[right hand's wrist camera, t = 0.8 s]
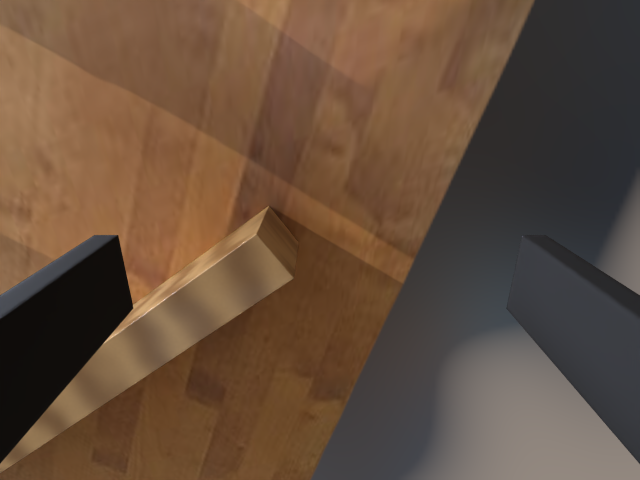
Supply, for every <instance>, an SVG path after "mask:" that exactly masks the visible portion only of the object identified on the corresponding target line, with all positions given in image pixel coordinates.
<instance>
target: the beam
mask: <svg viewBox="0 0 640 480" xmlns="http://www.w3.org/2000/svg"><path fill="white" fill-rule="evenodd" d="M298 246H299V242H298V241H297V240H296V239H295V237H294V236H293V235H292V234H291V232H290V231H289V230H288V229H287V227H286V226H285V225H284V224H283V222H282V221H281V220H280V219H279V218H278V216H277V215H276V214H275V213H274V211H273V210H272V209H271V208H270V206H268V207H267V208H265V209H264V210H262V211H261V212H260V213H258V214H257V215H256V216H254V217H253V218H251V219H250V220H249V221H247V222H246V223H245V224H243V225H242V226H240V227H239V228H238V229H236V230H235V231H234V232H232V233H231V234H230V235H228V236H227V237H225V238H224V239H223V240H221V241H220V242H219V243H217V244H216V245H214V246H213V247H212V248H210V249H209V250H208V251H206V252H205V253H204V254H202V255H201V256H199V257H198V258H197V259H195V260H194V261H193V262H191V263H190V264H188V265H187V266H186V267H184V268H183V269H182V270H180V271H179V272H178V273H176V274H175V275H173V276H172V277H171V278H169V279H168V280H167V281H165V282H164V283H162V284H161V285H160V286H158V287H157V288H156V289H154V290H153V291H151V292H150V293H149V294H147V295H146V296H145V297H143V298H142V299H141V300H139V301H138V302H136V303H135V304H134V305H133V310H132V311H131V312H130V313H129V314H128V315H127V317H126V318H125V319H124V320H123V321H122V322H121V324H120V325H119V326H118V327H117V328H116V329H115V331H114V332H113V333H112V334H111V335H110V336H109V338H108V339H107V340H106V341H105V342H104V343H103V345H102V346H101V347H100V348H99V349H98V350H97V352H96V353H95V354H94V355H93V356H92V357H91V359H90V360H89V361H88V362H87V363H86V364H85V366H84V367H83V368H82V369H81V370H80V371H79V373H78V374H77V375H76V376H75V377H74V378H73V380H72V381H71V382H70V383H69V384H68V385H67V387H66V388H65V389H64V390H63V391H62V392H61V394H60V395H59V396H58V397H57V398H56V399H55V401H54V402H53V403H52V404H51V405H50V406H49V408H48V409H47V410H46V411H45V412H44V413H43V415H42V416H41V417H40V418H39V419H38V420H37V422H36V423H35V424H34V425H33V426H32V427H31V429H30V430H29V431H28V432H27V433H26V434H25V436H24V437H23V438H22V439H21V440H20V441H19V443H18V444H17V445H16V446H15V447H14V448H13V450H12V451H11V452H10V453H9V454H8V455H7V457H6V458H5V459H4V460H3V461H2V462H1V464H0V473H2V472H3V471H5V470H6V469H8V468H9V467H11V466H12V465H14V464H15V463H17V462H18V461H20V460H21V459H23V458H24V457H26V456H27V455H29V454H30V453H32V452H33V451H35V450H36V449H38V448H39V447H41V446H42V445H44V444H45V443H47V442H48V441H50V440H51V439H53V438H54V437H56V436H57V435H59V434H60V433H62V432H63V431H65V430H66V429H68V428H69V427H71V426H72V425H74V424H75V423H77V422H78V421H80V420H81V419H83V418H84V417H86V416H87V415H89V414H90V413H92V412H93V411H95V410H96V409H98V408H99V407H101V406H102V405H104V404H105V403H107V402H108V401H110V400H112V399H113V398H115V397H116V396H118V395H119V394H121V393H122V392H124V391H125V390H127V389H128V388H130V387H131V386H133V385H134V384H136V383H137V382H139V381H140V380H142V379H143V378H145V377H146V376H148V375H149V374H151V373H152V372H154V371H155V370H157V369H158V368H160V367H161V366H163V365H164V364H166V363H167V362H169V361H170V360H172V359H173V358H175V357H176V356H178V355H179V354H181V353H182V352H184V351H185V350H187V349H188V348H190V347H191V346H193V345H194V344H196V343H197V342H199V341H200V340H202V339H203V338H205V337H206V336H208V335H209V334H211V333H212V332H214V331H215V330H217V329H218V328H220V327H221V326H223V325H224V324H226V323H227V322H229V321H230V320H232V319H233V318H235V317H237V316H238V315H240V314H241V313H243V312H244V311H246V310H247V309H249V308H250V307H252V306H253V305H255V304H256V303H258V302H259V301H261V300H262V299H264V298H265V297H267V296H268V295H270V294H271V293H273V292H274V291H276V290H277V289H279V288H280V287H282V286H283V285H285V284H286V283H288V282H289V281H291V280H292V279H294V274H295V267H296V260H297V253H298Z"/></svg>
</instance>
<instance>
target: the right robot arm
mask: <svg viewBox="0 0 640 480" xmlns="http://www.w3.org/2000/svg"><path fill="white" fill-rule="evenodd" d="M132 310H133V304H132V299H131V294H130V289H129V285H128V280H127V275H126V271H125V266H124V261H123V256H122V252H121V247H120V242H119V237H118V235H94V236H92V237H91V238H89V239H88V240H86V241H85V242H83V243H81V244H80V245H78V246H77V247H75V248H74V249H72V250H71V251H69V252H67V253H66V254H64V255H63V256H61V257H60V258H58V259H56V260H55V261H53V262H52V263H50V264H49V265H47V266H46V267H44V268H42V269H41V270H39V271H38V272H36V273H35V274H33V275H31V276H30V277H28V278H27V279H25V280H24V281H22V282H21V283H19V284H17V285H16V286H14V287H13V288H11V289H10V290H8V291H6V292H5V293H3V294H2V295H0V464H1V462H2V461H3V460H4V459H5V458H6V457H7V455H8V454H9V453H10V452H11V451H12V450H13V448H14V447H15V446H16V445H17V444H18V443H19V441H20V440H21V439H22V438H23V437H24V436H25V434H26V433H27V432H28V431H29V430H30V429H31V427H32V426H33V425H34V424H35V423H36V422H37V420H38V419H39V418H40V417H41V416H42V415H43V413H44V412H45V411H46V410H47V409H48V408H49V406H50V405H51V404H52V403H53V402H54V401H55V399H56V398H57V397H58V396H59V395H60V394H61V392H62V391H63V390H64V389H65V388H66V387H67V385H68V384H69V383H70V382H71V381H72V380H73V378H74V377H75V376H76V375H77V374H78V373H79V371H80V370H81V369H82V368H83V367H84V366H85V364H86V363H87V362H88V361H89V360H90V359H91V357H92V356H93V355H94V354H95V353H96V352H97V350H98V349H99V348H100V347H101V346H102V345H103V343H104V342H105V341H106V340H107V339H108V338H109V336H110V335H111V334H112V333H113V332H114V331H115V329H116V328H117V327H118V326H119V325H120V324H121V322H122V321H123V320H124V319H125V318H126V317H127V315H128V314H129V313H130V312H131V311H132ZM507 310H508V311H509V312H510V313H511V314H512V315H513V317H514V318H515V319H516V320H517V321H518V322H519V324H520V325H521V326H522V327H523V328H524V329H525V331H526V332H527V333H528V334H529V335H530V336H531V338H532V339H533V340H534V341H535V342H536V343H537V345H538V346H539V347H540V348H541V349H542V350H543V352H544V353H545V354H546V355H547V356H548V357H549V359H550V360H551V361H552V362H553V363H554V364H555V366H556V367H557V368H558V369H559V370H560V371H561V373H562V374H563V375H564V376H565V377H566V378H567V380H568V381H569V382H570V383H571V384H572V385H573V386H574V388H575V389H576V390H577V391H578V392H579V394H580V395H581V396H582V397H583V398H584V399H585V401H586V402H587V403H588V404H589V405H590V406H591V408H592V409H593V410H594V411H595V412H596V413H597V415H598V416H599V417H600V418H601V419H602V420H603V422H604V423H605V424H606V425H607V426H608V427H609V429H610V430H611V431H612V432H613V433H614V434H615V435H616V437H617V438H618V439H619V440H620V441H621V442H622V444H623V445H624V446H625V447H626V448H627V449H628V451H629V452H630V453H631V454H632V455H633V456H634V458H635V459H636V460H637V461H638V462H639V463H640V295H638V294H637V293H635V292H633V291H632V290H630V289H629V288H627V287H626V286H624V285H623V284H621V283H619V282H618V281H616V280H615V279H613V278H612V277H610V276H608V275H607V274H605V273H604V272H602V271H601V270H599V269H597V268H596V267H594V266H593V265H591V264H590V263H588V262H587V261H585V260H584V259H582V258H580V257H579V256H577V255H576V254H574V253H573V252H571V251H569V250H568V249H566V248H565V247H563V246H562V245H560V244H558V243H557V242H555V241H554V240H552V239H551V238H549V237H548V236H546V235H522V238H521V242H520V247H519V252H518V256H517V261H516V266H515V271H514V275H513V280H512V285H511V290H510V294H509V299H508V304H507Z"/></svg>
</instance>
